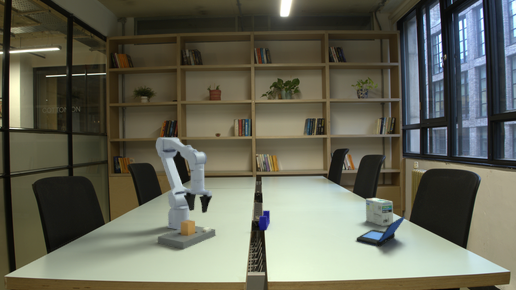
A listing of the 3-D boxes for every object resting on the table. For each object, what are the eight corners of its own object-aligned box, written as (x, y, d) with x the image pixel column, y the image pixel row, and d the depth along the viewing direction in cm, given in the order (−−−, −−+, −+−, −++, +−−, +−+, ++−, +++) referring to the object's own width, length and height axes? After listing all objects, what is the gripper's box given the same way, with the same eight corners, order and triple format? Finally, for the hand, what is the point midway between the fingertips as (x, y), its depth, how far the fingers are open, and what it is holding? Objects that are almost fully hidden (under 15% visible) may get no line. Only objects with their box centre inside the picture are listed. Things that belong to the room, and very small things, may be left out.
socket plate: (157, 242, 114) (157, 234, 114) (190, 230, 129) (190, 222, 129) (183, 249, 106) (183, 239, 106) (215, 235, 122) (215, 227, 122)
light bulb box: (393, 224, 133) (393, 201, 133) (382, 226, 131) (382, 202, 131) (376, 219, 143) (376, 197, 143) (365, 220, 140) (365, 198, 140)
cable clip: (260, 222, 141) (260, 210, 141) (269, 223, 140) (269, 210, 140) (256, 230, 129) (256, 216, 129) (266, 230, 128) (266, 216, 128)
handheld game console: (372, 232, 123) (371, 210, 123) (406, 239, 114) (405, 215, 114) (355, 241, 112) (354, 217, 112) (391, 250, 103) (390, 224, 102)
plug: (180, 239, 117) (180, 222, 117) (188, 236, 121) (187, 219, 121) (188, 241, 115) (187, 223, 115) (195, 238, 119) (194, 221, 119)
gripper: (178, 180, 126) (179, 211, 126) (203, 182, 118) (203, 215, 119) (190, 178, 132) (191, 208, 132) (214, 180, 124) (215, 211, 125)
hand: (198, 211), depth 126 cm, fingers open, 7 cm apart
